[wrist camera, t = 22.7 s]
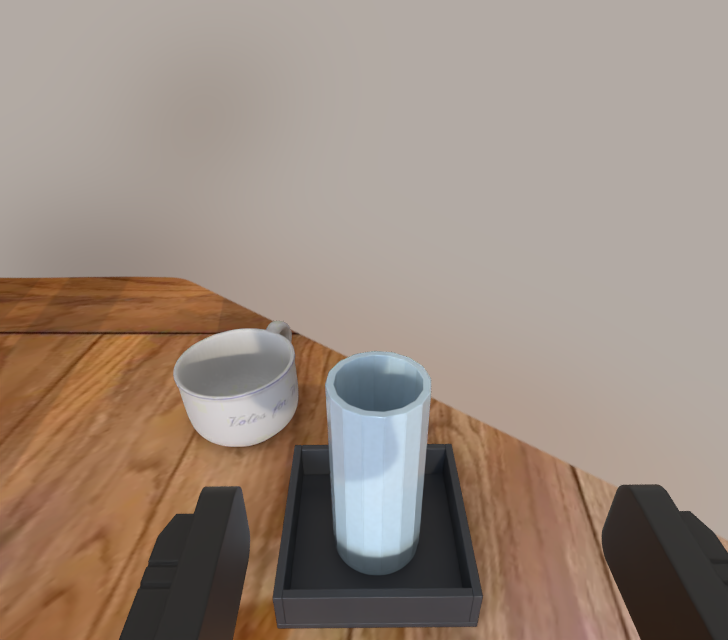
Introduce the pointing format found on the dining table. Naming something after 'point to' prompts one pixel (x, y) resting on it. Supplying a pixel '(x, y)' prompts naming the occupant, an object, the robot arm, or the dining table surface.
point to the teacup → (240, 384)
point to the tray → (372, 592)
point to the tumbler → (377, 458)
